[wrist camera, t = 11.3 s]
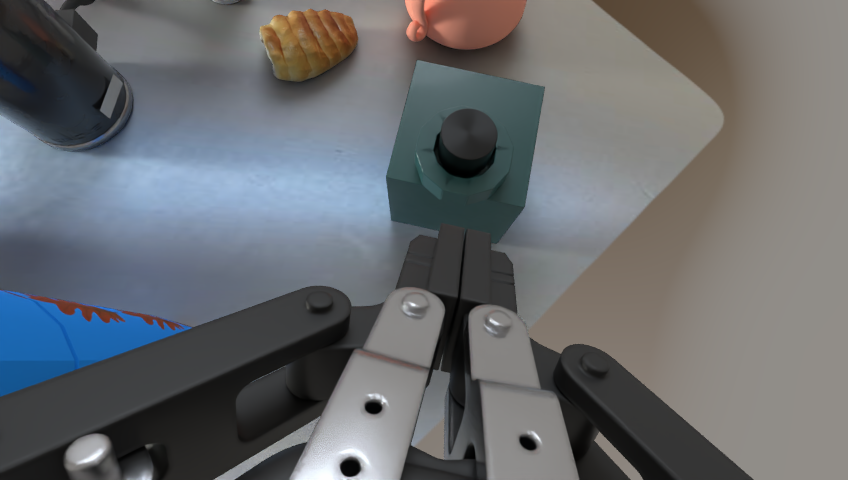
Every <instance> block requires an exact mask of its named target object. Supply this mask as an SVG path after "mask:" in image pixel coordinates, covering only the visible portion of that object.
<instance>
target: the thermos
mask: <svg viewBox="0 0 848 480" xmlns="http://www.w3.org/2000/svg"><path fill="white" fill-rule="evenodd" d="M191 328H192V327H189V326H186V325H183V324H180V323H177V322H173V321H170V320H166V319H163V318H159V317H156V316H151V315H145V314H140V313H134V312H128V311H122V310H116V309H111V308H105V307H99V306H93V305H87V304H82V303H76V302H70V301H64V300H58V299H53V298H47V297H41V296H35V295H29V294H24V293H18V292H12V291H6V290H0V397H1V396H4V395H7V394H9V393H12V392H15V391H18V390H21V389H23V388H26V387H29V386H32V385H35V384H37V383H40V382H43V381H46V380H48V379H51V378H54V377H57V376H60V375H62V374H65V373H68V372H71V371H74V370H76V369H79V368H82V367H85V366H88V365H90V364H93V363H96V362H99V361H102V360H104V359H107V358H110V357H113V356H115V355H118V354H121V353H124V352H127V351H129V350H132V349H135V348H138V347H141V346H143V345H146V344H149V343H152V342H155V341H157V340H160V339H163V338H166V337H168V336H171V335H174V334H177V333H180V332H182V331H185V330H188V329H191Z"/></svg>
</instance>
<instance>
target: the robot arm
mask: <svg viewBox="0 0 848 480" xmlns="http://www.w3.org/2000/svg"><path fill="white" fill-rule="evenodd" d="M94 1H95V0H66V1H65V2H64V4H63V5H62V7H61V8H60V10H55V11H54V10H53V9H52V8H51V7H50V6H49V5H48V4H47V3H46V2H45V1H44V0H0V115H1V116H3V117H5V118H6V119H8V120H10V121H11V122H13V123H15V124H16V125H18V126H20V127H22V128H23V129H25V130H27V131H28V132H30V133H32V134H33V135H34V136H35V137H37V138H38V139H39V140H41V141H43V142H44V143H46V144H48V145H49V146H51V147H54V148H56V149H60V150H65V151H81V150H87V149H91V148H94V147H96V146H99V145H101V144H103V143H105V142H106V141H108V140H110V139H111V138H112V137H114V136H115V135H116V134H117V133H118V132H119V131H120V130H121V129H122V128H123V126H124V125H125V123H126V122H127V120H128V118H129V116H130V113H131V110H132V104H133V97H132V91H131V88H130V86H129V84H128V82H127V81H126V80H125V78H124V77H123V76H122V75H121V74H120V73H119V72H118V71H117V70H115V69H114V68H113V67H111V66H110V65H109V64H108V63H107V62H106V61H105V60H104V59H103V58H102V57H101V56H100V55H99V54H98V53H97V52H96V49H97V37H98V34H97V33H96V32H95V31H94V30H93V29H92V28H91V27H90V26H89V25H88V24H87V22H86V21H85V20H84V19H83V18H82V17H81V16H80V15H79V14H78V13H77V12H76V11H75V9H76V8H77V7H79V6H80V5H89V4H92V3H93V2H94ZM464 231H465V228H463V227H458V226H454V225H449V224H444V223H441V225H440V230H439V234H438V239H437V238H432V237H428V236H423V235H419V236H418V237H417V238H415V239H414V240H412V241H411V242H410V245H409V248H408V251H407V255H406V258H405V261H404V264H403V267H402V270H401V273H400V276H399V280H398V283H397V286H396V289H395V290H394V291H393V292H391V293H390V294H389V295H388V297H387V298H386V300H385V302H383V303H381V304H378V305H374V306H359V307H351V302H350V300H349V298H348V297H347V296H346V295H345V294H344V293H342V292H341V291H339V290H337V289H334V288H331V287H326V286H311V287H306V288H302V289H300V290H297V291H294V292H291V293H288V294H286V295H283V296H280V297H277V298H275V299H272V300H269V301H266V302H263V303H261V304H258V305H255V306H252V307H249V308H247V309H244V310H241V311H238V312H235V313H233V314H230V315H227V316H224V317H221V318H219V319H216V320H213V321H210V322H208V323H205V324H202V325H199V326H196V327H194V328H191V329H188V330H185V331H182V332H180V333H177V334H174V335H171V336H168V337H166V338H163V339H160V340H157V341H155V342H152V343H149V344H146V345H143V346H141V347H138V348H135V349H132V350H129V351H127V352H124V353H121V354H118V355H115V356H113V357H110V358H107V359H104V360H102V361H99V362H96V363H93V364H90V365H88V366H85V367H82V368H79V369H76V370H74V371H71V372H68V373H65V374H62V375H60V376H57V377H54V378H51V379H48V380H46V381H43V382H40V383H37V384H35V385H32V386H29V387H26V388H23V389H21V390H18V391H15V392H12V393H9V394H7V395H4V396H1V397H0V480H213V479H215V478H217V477H218V476H220V475H222V474H224V473H225V472H227V471H229V470H230V469H232V468H234V467H235V466H237V465H239V464H240V463H242V462H244V461H245V460H247V459H249V458H250V457H252V456H254V455H255V454H257V453H259V452H260V451H262V450H264V449H266V448H267V447H269V446H271V445H272V444H274V443H276V442H277V441H279V440H281V439H282V438H284V437H286V436H287V435H289V434H291V433H292V432H294V431H296V430H297V429H299V428H301V427H303V426H304V425H306V424H308V423H309V422H311V421H313V420H314V419H316V418H318V417H319V416H321V417H320V419H319V421H318V423H317V425H316V427H315V429H314V431H313V433H312V435H311V437H310V439H309V441H308V442H306V443H302V444H298V445H295V446H292V447H290V448H287V449H284V450H282V451H280V452H278V453H276V454H274V455H272V456H271V457H269V458H267V459H266V460H264V461H262V462H261V463H259V464H258V465H256V466H255V467H253V468H252V469H250V470H249V471H247V472H246V473H244V474H243V475H241V476H240V477H238V478H236V479H235V480H630V479H629V478H628V476H627V475H625V473H624V472H623V471H622V470H621V469H620V468H619V467H618V466H617V465H616V464H615V463H614V462H613V460H612V459H610V457H609V456H608V455H607V454H606V453H605V452H604V451H603V450H602V449H601V448H600V447H599V446H598V444H597V443H596V442H595V441H594V439H595V438H596V436H597V434H598V433H599V431H600V432H601V433H602V434H603V435H604V437H606V439H607V440H608V441H609V442H610V443H611V444H612V445H613V446H614V447H615V448H616V449H617V450H618V451H619V452H620V453H621V454H622V455H623V456H624V457H625V458H626V459H627V460H628V461H629V462H630V463H631V465H632V466H633V467H635V469H636V470H637V471H638V472H639V473H640V475H641V476H642V478H643V480H753V479H752V478H751V477H750V476H749V475H748V474H746V473H745V472H744V471H743V470H742V469H741V468H739V467H738V466H737V465H736V464H735V463H734V462H733V461H731V460H730V459H729V458H728V457H727V456H725V455H724V454H723V453H722V452H721V451H720V450H718V448H716V447H715V446H714V445H713V444H712V443H710V442H709V441H708V440H707V439H706V438H705V437H704V436H702V435H701V434H700V433H699V432H698V431H697V430H696V429H694V428H693V427H692V426H691V425H690V424H689V423H687V422H686V421H685V420H684V419H683V418H682V417H680V416H679V415H678V414H677V413H676V412H675V411H674V410H672V409H671V408H670V407H669V406H668V405H667V404H665V403H664V402H663V401H662V400H661V399H660V398H658V397H657V396H656V395H655V394H654V393H653V392H652V391H650V390H649V389H648V388H647V387H646V386H645V385H644V384H642V383H641V382H640V381H639V380H638V379H637V378H635V377H634V376H633V375H632V374H631V373H630V372H628V371H627V370H626V369H625V368H624V367H623V366H622V365H620V364H619V363H618V362H617V361H616V360H615V359H613V358H612V357H611V356H609V355H608V354H607V353H605V352H603V351H601V350H600V349H597V348H595V347H592V346H589V345H584V344H573V345H570V346H568V347H566V348H565V349H564V350H563V352H562V354H559V353H557V352H555V351H553V350H551V349H548V348H547V347H544V346H542V345H540V344H538V343H537V342H536V341H534V340H533V339H531V338H530V337H529V334H528V330H527V326H526V324H525V323H524V321H523V320H522V319H521V318H520V317H519V316H518V315H517V305H516V294H515V286H514V284H515V283H514V277H513V276H514V273H513V264H512V262H511V261H510V260H509V258H508V257H507V255H506V254H505V253H502V252H497V251H493V250H491V233H486V232H482V231H477V230H472V229H468V228H467V229H466V231H465V235H464ZM442 355H443V358H442ZM441 358H442V366H441V371H444V372H449V373H450V382H449V385H448V389H447V392H446V396H445V421H444V424H445V425H444V460H442V459H438V458H435V457H433V456H431V455H429V454H427V453H425V452H423V451H421V450H419V449H417V448H415V447H413V446H411V442H412V438H413V434H414V430H415V427H416V423H417V419H418V415H419V411H420V408H421V404H422V400H423V396H424V392H425V388H426V387H427V386H428V385H429V383H430V379H431V376H432V372H433V369H435V370H439V366H440V362H441ZM283 366H285V367H283ZM281 367H283V368H281ZM279 368H281V369H279ZM277 369H279V370H277ZM275 370H277V371H275ZM273 371H275V372H273ZM271 372H273V373H271ZM269 373H271V374H269ZM267 374H268V375H267ZM265 375H266V376H265ZM262 376H264V377H262ZM260 377H262V378H260ZM258 378H260V379H258ZM256 379H258V380H256ZM254 380H256V381H254ZM252 381H254V382H252ZM251 382H252V383H251ZM249 383H250V384H249Z"/></svg>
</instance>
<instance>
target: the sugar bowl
mask: <svg viewBox="0 0 848 480" xmlns="http://www.w3.org/2000/svg"><path fill="white" fill-rule="evenodd" d="M405 4H406V7H407V10H408V13H409V15H410V17H411V19H412V20H413V21H412V22H411V23H410V24H409V26H408V28H407V36H408V37H409V39H410V40H412V41H414V42H417V41H421V40H422V39H424V37H425V36H428V37H429V38H431V39H432V40H434V41H436V42H437V43H440V44H442V45H444V46H447V47H450V48H455V49H463V50H470V49H479V48H483V47H487V46H489V45H492V44H494V43H496V42H498V41H500V40H502V39H503V38H504V37H506V36H507V35H508V34H509V33H510V32H511V31H512V30H513V29H514V28H515V27H516V26H517V24H518V23H519V21H520V19H521V18H522V15H523V12H524V9H525V5H526V0H405Z"/></svg>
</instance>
